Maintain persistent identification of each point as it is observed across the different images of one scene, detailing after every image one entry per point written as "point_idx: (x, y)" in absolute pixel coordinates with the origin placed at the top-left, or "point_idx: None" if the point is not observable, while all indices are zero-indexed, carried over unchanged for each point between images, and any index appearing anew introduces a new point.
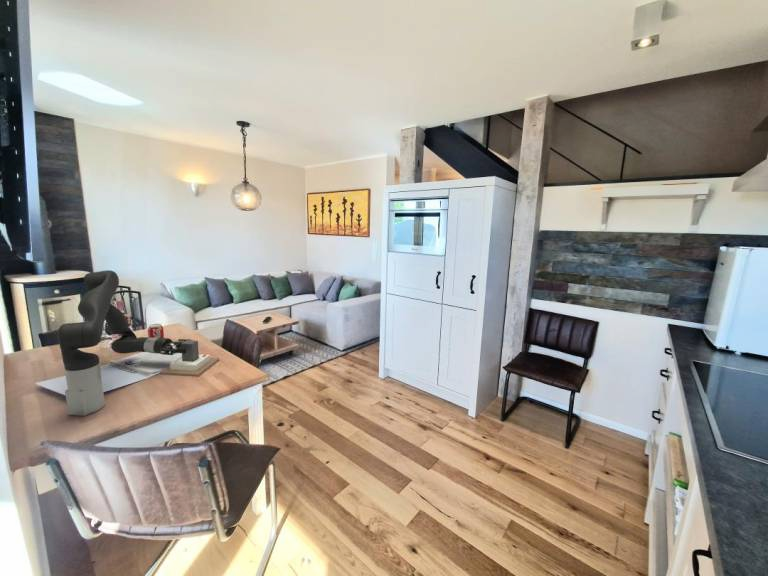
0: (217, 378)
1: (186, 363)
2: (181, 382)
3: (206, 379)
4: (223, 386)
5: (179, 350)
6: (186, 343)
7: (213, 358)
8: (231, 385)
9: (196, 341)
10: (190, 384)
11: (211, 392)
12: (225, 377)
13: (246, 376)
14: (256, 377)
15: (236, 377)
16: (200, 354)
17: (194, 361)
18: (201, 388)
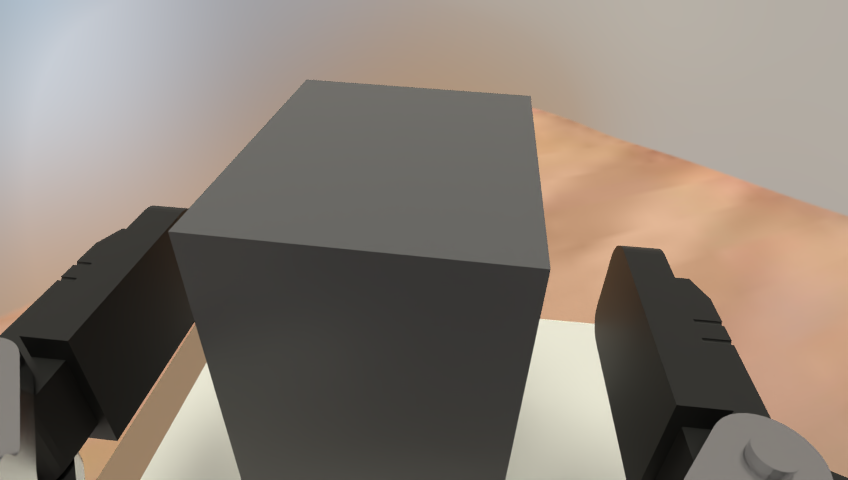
0: (612, 229)
1: (584, 455)
2: (840, 449)
3: None
4: (698, 184)
5: (731, 357)
6: (523, 163)
7: (196, 340)
8: (666, 162)
9: (351, 85)
10: (809, 352)
11: (802, 209)
12: (579, 200)
13: None
14: (533, 112)
15: (560, 163)
16: (189, 403)
17: None
18: (803, 264)
